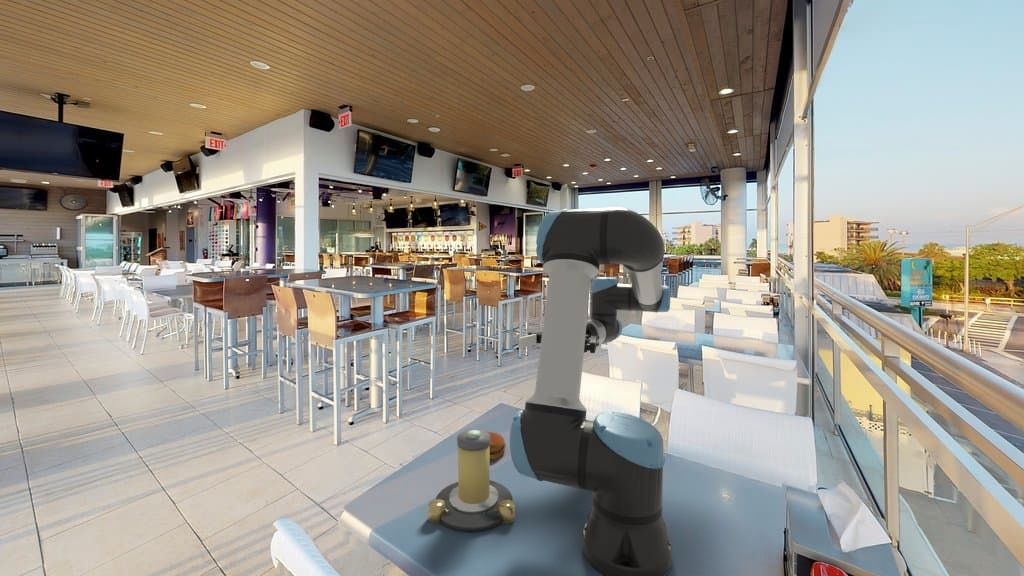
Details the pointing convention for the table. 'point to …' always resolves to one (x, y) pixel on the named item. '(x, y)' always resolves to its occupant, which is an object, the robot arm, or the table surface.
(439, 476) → the table surface
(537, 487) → the table surface
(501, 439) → the burger
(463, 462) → the yellow battery cell
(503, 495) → the tribrach
